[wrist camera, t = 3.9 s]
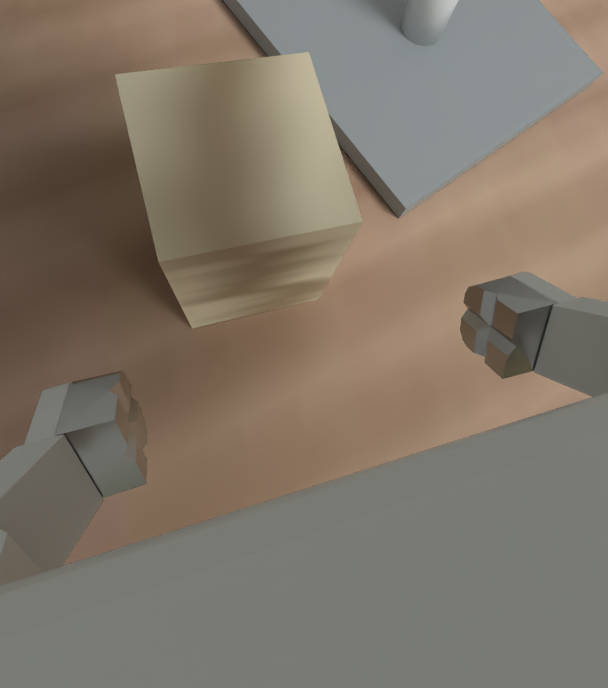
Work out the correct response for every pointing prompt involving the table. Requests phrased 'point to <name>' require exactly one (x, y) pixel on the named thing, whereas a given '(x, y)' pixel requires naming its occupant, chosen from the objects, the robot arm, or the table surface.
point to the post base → (425, 79)
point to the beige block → (240, 183)
